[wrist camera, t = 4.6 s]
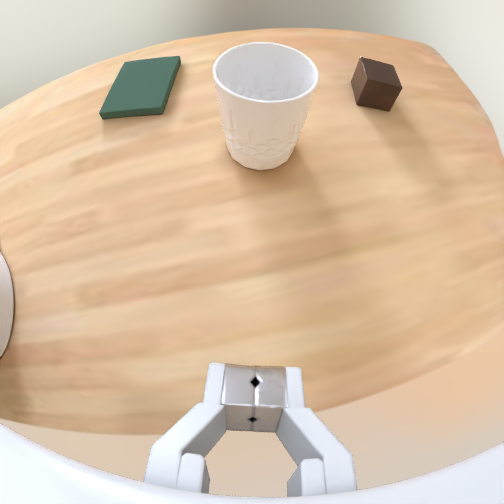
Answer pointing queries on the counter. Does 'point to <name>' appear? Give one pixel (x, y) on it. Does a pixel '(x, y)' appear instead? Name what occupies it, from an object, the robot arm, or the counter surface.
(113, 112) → the flat green block
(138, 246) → the counter surface
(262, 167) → the white cup
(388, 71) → the walnut block
